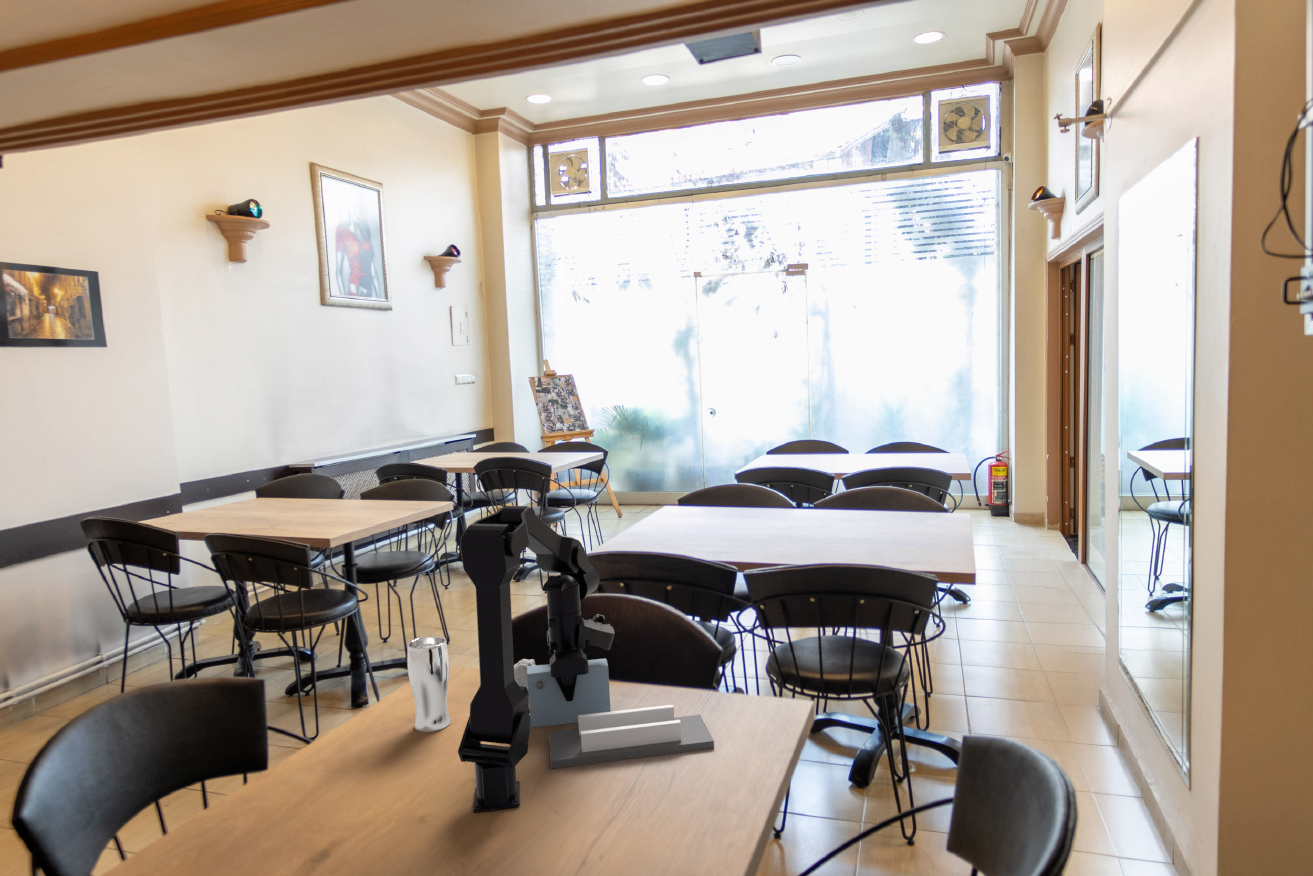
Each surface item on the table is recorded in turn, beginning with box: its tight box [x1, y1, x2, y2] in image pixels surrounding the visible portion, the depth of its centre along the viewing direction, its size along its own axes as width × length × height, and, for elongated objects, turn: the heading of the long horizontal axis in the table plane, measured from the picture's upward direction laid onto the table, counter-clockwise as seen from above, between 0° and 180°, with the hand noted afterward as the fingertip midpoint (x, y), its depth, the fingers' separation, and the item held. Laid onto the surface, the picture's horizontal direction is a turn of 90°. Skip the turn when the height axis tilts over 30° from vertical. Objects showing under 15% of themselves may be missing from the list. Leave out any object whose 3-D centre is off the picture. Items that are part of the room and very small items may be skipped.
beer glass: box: [407, 635, 451, 733], centre depth 141 cm, size 7×7×15 cm
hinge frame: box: [548, 704, 715, 769], centre depth 131 cm, size 10×26×4 cm, turn 100°
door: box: [527, 658, 611, 729], centre depth 141 cm, size 4×14×10 cm, turn 100°
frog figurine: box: [514, 658, 537, 690], centre depth 153 cm, size 6×7×7 cm
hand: (569, 696), depth 141 cm, fingers closed on door, 4 cm apart
